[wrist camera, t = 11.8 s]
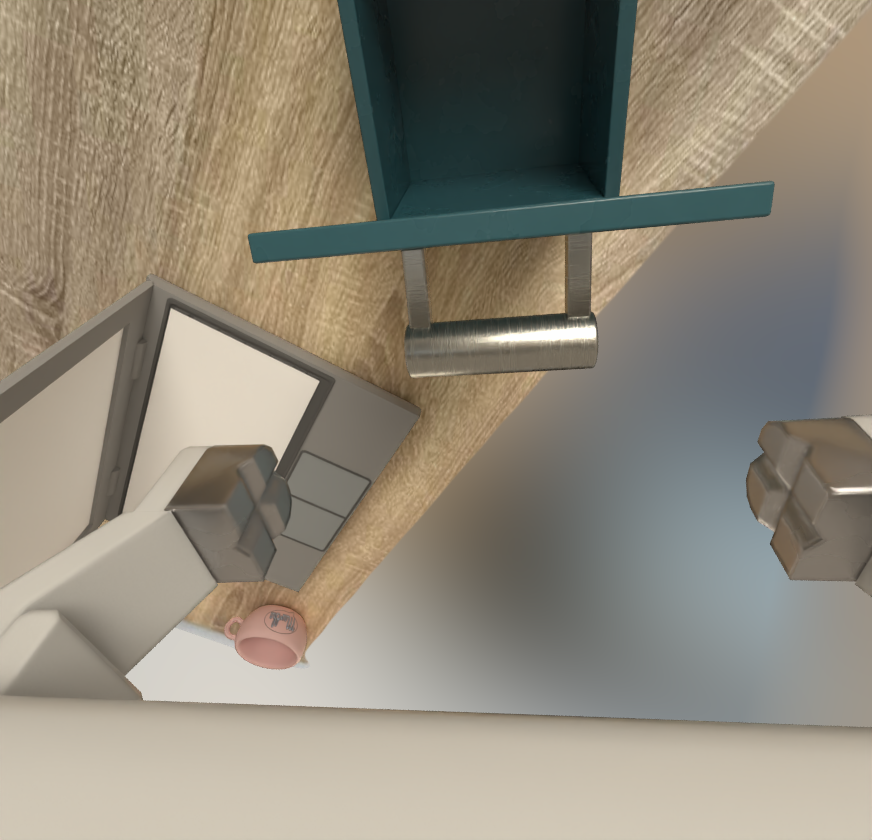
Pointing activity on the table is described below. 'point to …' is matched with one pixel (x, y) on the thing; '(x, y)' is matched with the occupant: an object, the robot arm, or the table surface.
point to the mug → (270, 637)
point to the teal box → (489, 100)
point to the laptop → (182, 425)
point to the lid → (510, 336)
